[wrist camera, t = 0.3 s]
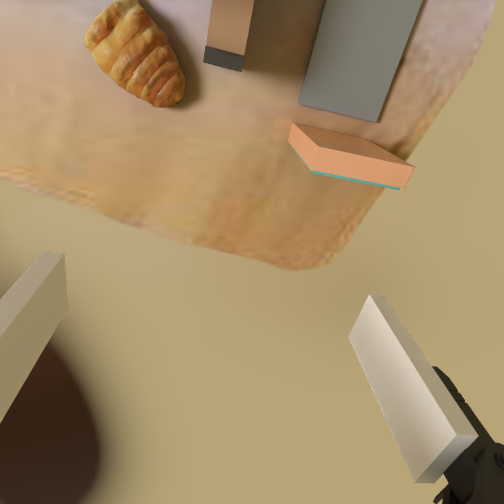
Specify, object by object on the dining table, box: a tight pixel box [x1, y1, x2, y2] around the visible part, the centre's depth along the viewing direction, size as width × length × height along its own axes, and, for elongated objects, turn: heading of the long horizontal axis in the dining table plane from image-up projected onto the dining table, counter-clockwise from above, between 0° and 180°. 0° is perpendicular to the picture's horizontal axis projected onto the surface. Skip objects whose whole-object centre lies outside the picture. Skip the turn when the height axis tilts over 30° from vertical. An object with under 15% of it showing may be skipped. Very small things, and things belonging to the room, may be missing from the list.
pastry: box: [85, 0, 185, 107], centre depth 31 cm, size 9×7×4 cm
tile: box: [288, 123, 415, 190], centre depth 34 cm, size 2×9×11 cm, turn 78°
